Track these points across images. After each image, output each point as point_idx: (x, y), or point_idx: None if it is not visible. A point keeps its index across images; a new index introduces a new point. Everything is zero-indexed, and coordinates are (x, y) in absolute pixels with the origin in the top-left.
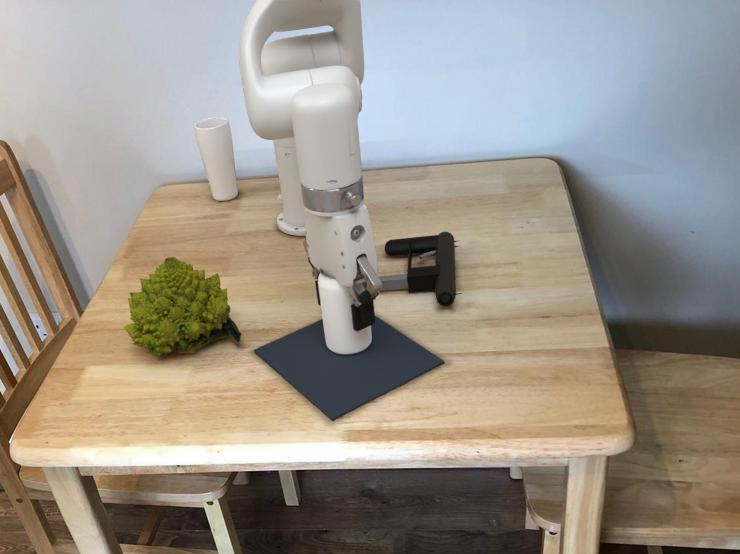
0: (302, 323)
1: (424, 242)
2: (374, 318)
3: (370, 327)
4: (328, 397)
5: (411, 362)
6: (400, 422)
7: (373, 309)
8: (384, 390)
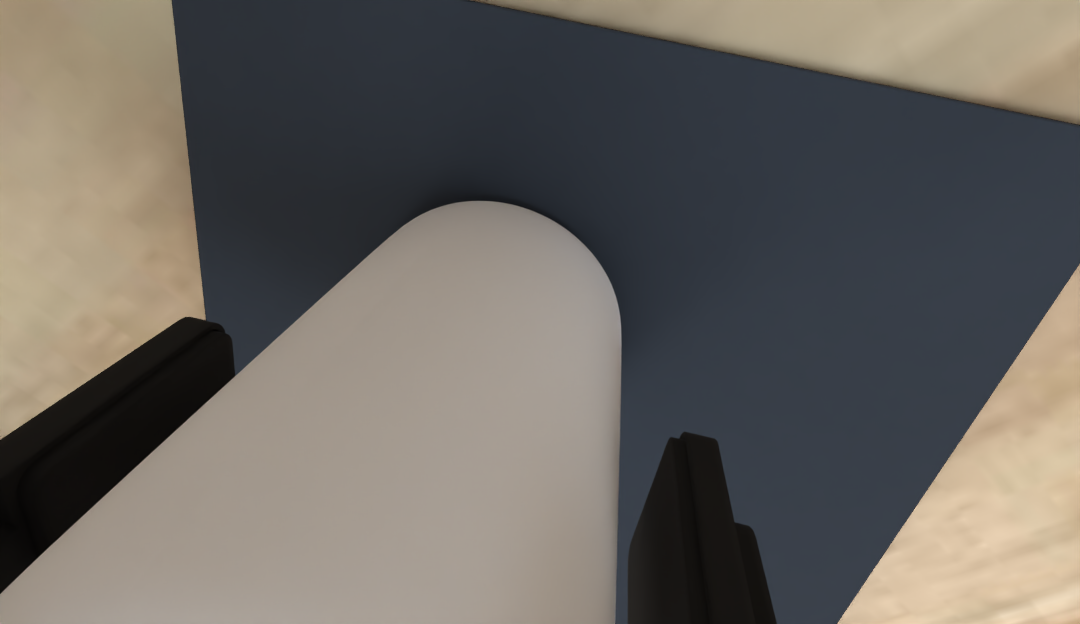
0: (159, 292)
1: None
2: (718, 461)
3: (598, 310)
4: None
5: (935, 275)
6: (1072, 591)
7: (733, 538)
8: (908, 505)
